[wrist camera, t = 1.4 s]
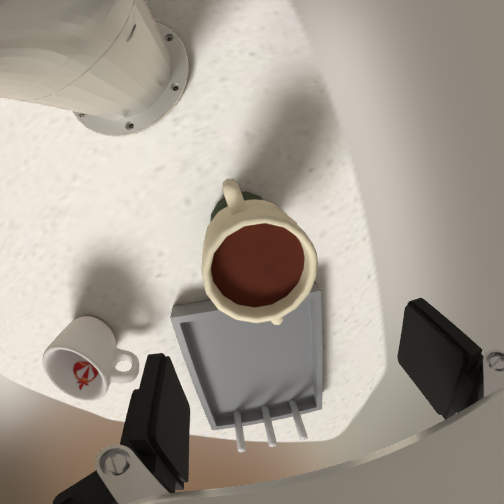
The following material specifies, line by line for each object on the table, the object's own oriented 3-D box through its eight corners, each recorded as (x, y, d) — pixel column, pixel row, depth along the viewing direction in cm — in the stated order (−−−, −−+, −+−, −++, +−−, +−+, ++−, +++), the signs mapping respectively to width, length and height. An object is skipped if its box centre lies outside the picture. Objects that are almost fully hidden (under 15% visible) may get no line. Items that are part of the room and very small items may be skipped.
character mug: (289, 257, 32) (334, 322, 20) (226, 280, 32) (236, 358, 20) (258, 158, 28) (292, 165, 16) (188, 183, 28) (169, 209, 16)
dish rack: (172, 306, 32) (164, 348, 25) (313, 280, 33) (339, 316, 26) (211, 417, 39) (213, 459, 32) (317, 397, 40) (332, 435, 33)
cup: (146, 318, 32) (132, 362, 25) (145, 368, 35) (134, 413, 27) (64, 301, 30) (35, 337, 23) (70, 351, 33) (49, 391, 25)
